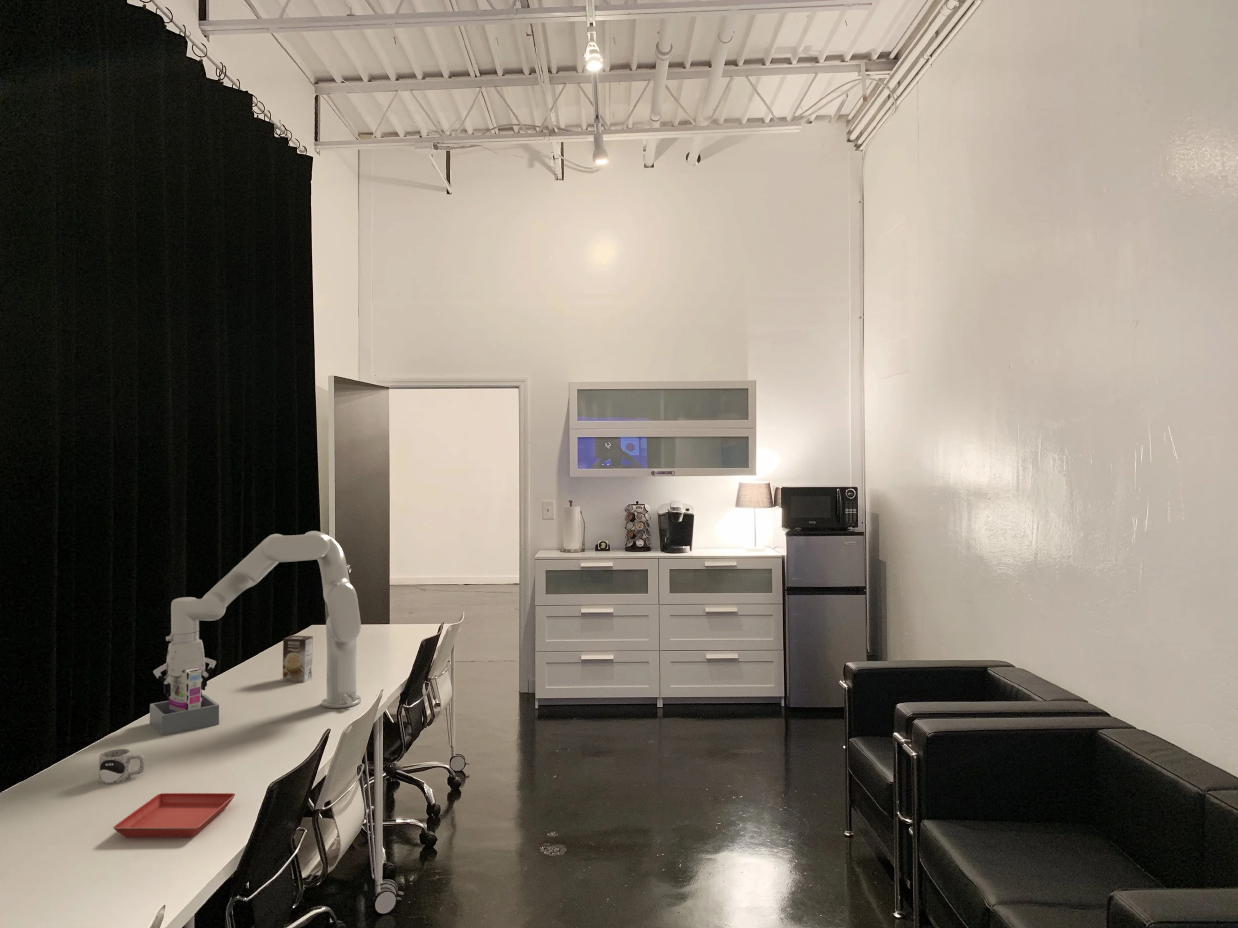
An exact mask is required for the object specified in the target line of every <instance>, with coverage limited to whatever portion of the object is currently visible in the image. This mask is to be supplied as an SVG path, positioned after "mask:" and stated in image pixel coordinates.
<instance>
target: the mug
mask: <svg viewBox="0 0 1238 928" xmlns="http://www.w3.org/2000/svg"><path fill="white" fill-rule="evenodd" d="M131 760H139V768H138V769H135V770H134V769H132V770H131ZM98 765H99V766H98V767H99V769H98V772H99V777H98V779H99V780H98V781H99V784H100V785H115V784H120V783H123V782H125V781H128V780H130V779H131V777H132V776H135V775H139V774H142V773H143V772H144V770H145V758H144V755H142V754H136V753H135V754H134V753H133V754H132V753H131V749H129V748H115V749H110V750H107V751H104V752H102V753H100V754H99V763H98Z"/></svg>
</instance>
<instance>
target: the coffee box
mask: <svg viewBox="0 0 1238 928" xmlns="http://www.w3.org/2000/svg"><path fill="white" fill-rule="evenodd" d="M282 641H283V642H282V643H283V644H282V682H293V683H297V682H298V683H306V682H307V681H309V680H312V678H313V659H314V658H313V657H314V656H313V655H314V653H313V652H314V636H312V635H295V634H294V635H292V634H291V635H288V636H286V637H285V638H283V639H282Z"/></svg>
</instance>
